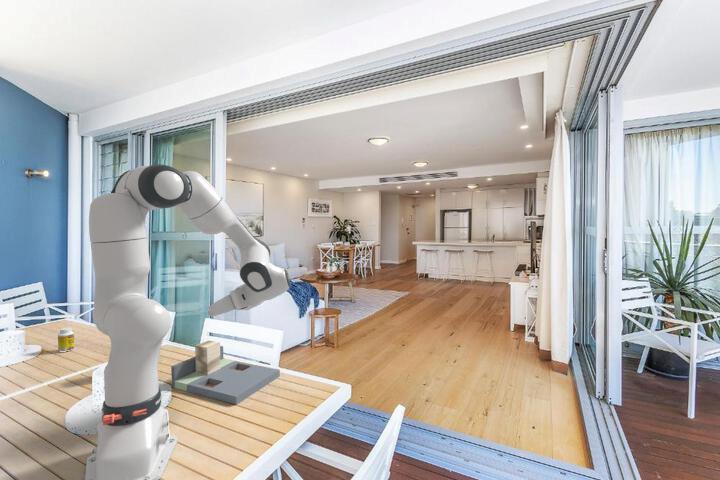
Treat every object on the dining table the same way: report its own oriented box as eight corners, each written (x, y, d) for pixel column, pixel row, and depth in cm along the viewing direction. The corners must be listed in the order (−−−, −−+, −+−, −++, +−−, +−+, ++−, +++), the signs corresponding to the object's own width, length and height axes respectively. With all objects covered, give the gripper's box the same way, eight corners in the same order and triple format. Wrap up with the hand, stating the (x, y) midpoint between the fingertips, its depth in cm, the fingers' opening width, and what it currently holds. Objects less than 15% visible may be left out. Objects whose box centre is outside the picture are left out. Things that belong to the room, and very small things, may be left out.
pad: (234, 366, 134) (234, 360, 134) (187, 391, 114) (186, 384, 114) (223, 364, 137) (223, 358, 137) (174, 388, 117) (174, 381, 117)
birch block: (220, 368, 127) (220, 342, 127) (207, 374, 122) (207, 347, 121) (208, 366, 129) (208, 340, 129) (195, 372, 124) (195, 345, 124)
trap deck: (279, 376, 126) (279, 356, 125) (236, 404, 106) (236, 381, 105) (220, 364, 137) (220, 345, 137) (171, 387, 117) (171, 366, 117)
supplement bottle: (69, 352, 152) (68, 329, 152) (55, 353, 151) (54, 330, 151) (77, 348, 158) (76, 326, 157) (63, 349, 156) (62, 327, 156)
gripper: (252, 286, 127) (219, 301, 126) (231, 290, 106) (191, 309, 106) (259, 301, 126) (225, 316, 126) (239, 309, 106) (199, 327, 106)
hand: (209, 313), depth 116 cm, fingers closed
